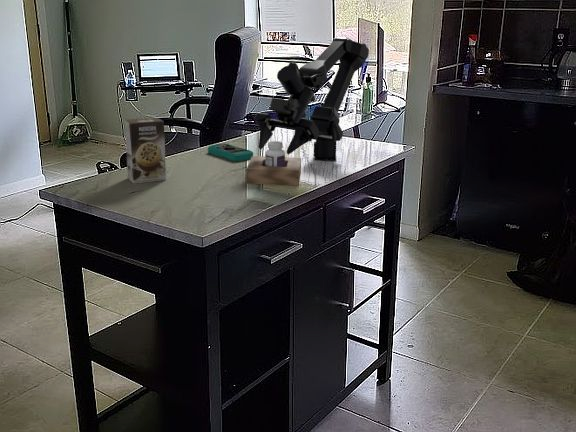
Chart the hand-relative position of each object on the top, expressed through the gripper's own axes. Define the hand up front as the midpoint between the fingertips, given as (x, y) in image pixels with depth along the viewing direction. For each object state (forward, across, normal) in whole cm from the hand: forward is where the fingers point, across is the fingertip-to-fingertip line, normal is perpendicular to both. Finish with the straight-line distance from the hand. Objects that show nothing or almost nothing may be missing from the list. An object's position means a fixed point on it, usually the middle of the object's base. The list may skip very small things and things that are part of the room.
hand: (273, 151), depth 173 cm
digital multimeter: (-3, -25, +14) cm, 29 cm away
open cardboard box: (+5, 0, +6) cm, 8 cm away
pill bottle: (+5, 0, +6) cm, 8 cm away
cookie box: (+21, -26, -10) cm, 35 cm away
